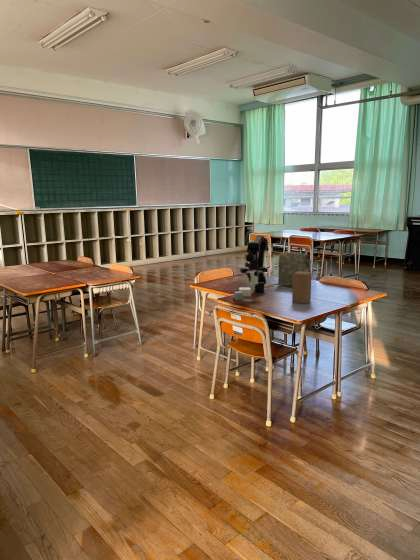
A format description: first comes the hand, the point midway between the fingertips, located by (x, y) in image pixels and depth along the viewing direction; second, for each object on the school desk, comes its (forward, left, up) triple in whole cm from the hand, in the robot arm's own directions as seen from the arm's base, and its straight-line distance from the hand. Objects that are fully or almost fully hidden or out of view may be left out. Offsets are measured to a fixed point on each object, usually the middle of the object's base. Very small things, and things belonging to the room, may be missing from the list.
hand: (253, 282), depth 292 cm
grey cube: (+12, +4, -11) cm, 17 cm away
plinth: (+5, -7, -11) cm, 14 cm away
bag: (-40, -32, -11) cm, 52 cm away
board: (+6, +11, -11) cm, 17 cm away
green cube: (0, 0, -1) cm, 1 cm away
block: (-28, +19, -11) cm, 36 cm away
